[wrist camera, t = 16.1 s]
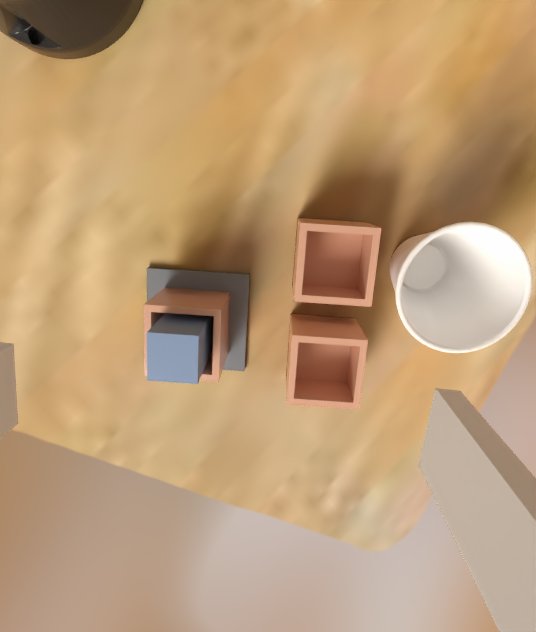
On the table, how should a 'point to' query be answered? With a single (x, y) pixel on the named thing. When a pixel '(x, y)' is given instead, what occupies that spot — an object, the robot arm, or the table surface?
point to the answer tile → (213, 282)
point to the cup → (461, 285)
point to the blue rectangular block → (179, 347)
